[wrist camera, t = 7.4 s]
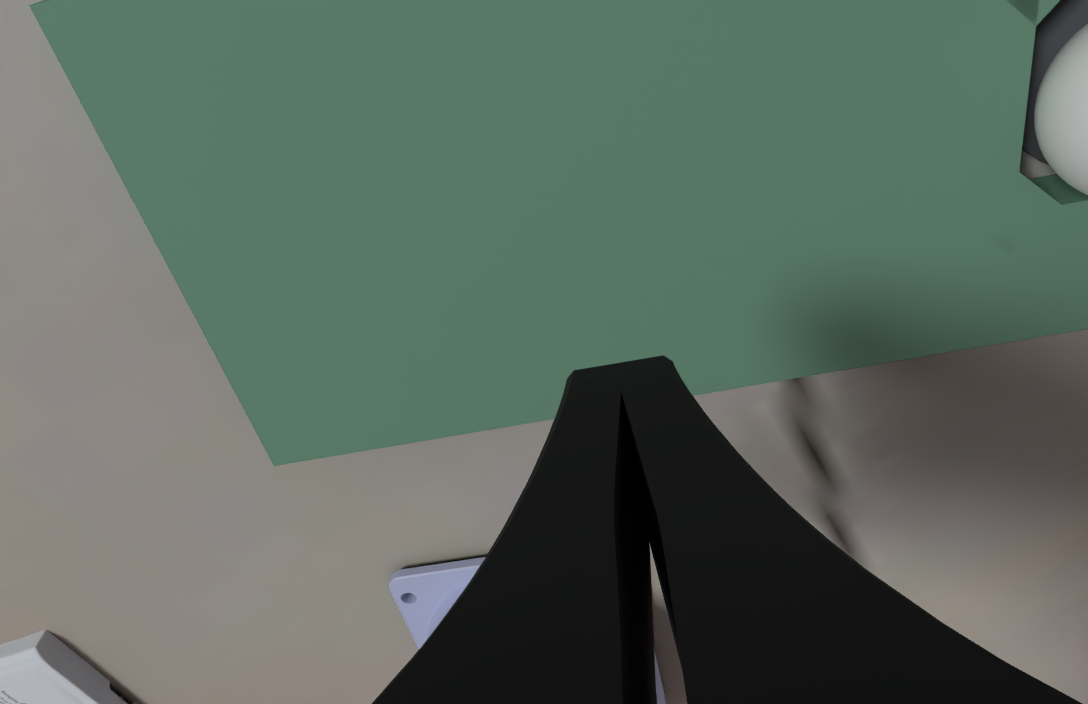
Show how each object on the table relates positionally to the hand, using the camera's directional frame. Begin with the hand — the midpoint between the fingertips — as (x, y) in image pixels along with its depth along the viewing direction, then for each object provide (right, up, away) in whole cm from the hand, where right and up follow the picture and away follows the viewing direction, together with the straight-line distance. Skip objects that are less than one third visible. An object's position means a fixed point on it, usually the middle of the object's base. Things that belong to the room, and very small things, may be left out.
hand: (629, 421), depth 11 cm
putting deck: (+3, +6, +7) cm, 10 cm away
